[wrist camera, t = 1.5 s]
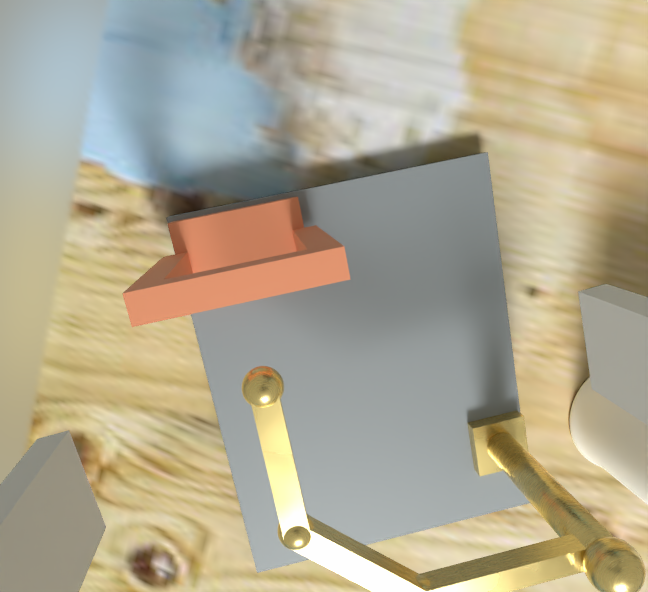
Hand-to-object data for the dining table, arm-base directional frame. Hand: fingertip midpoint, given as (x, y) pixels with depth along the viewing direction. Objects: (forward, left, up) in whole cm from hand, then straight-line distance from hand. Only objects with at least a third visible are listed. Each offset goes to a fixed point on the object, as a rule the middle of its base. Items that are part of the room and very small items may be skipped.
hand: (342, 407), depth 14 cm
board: (+8, +4, -23) cm, 24 cm away
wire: (+9, +5, -22) cm, 24 cm away
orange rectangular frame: (-2, -2, -22) cm, 22 cm away
